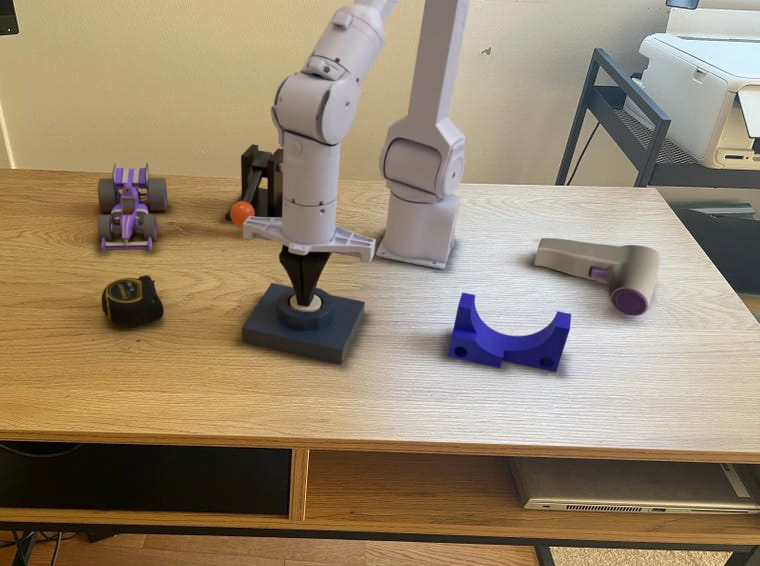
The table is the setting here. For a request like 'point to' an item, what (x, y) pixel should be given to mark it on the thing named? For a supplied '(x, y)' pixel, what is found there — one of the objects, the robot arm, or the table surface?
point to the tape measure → (132, 301)
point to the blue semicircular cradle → (506, 340)
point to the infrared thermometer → (607, 269)
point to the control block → (304, 325)
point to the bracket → (272, 197)
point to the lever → (251, 189)
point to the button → (312, 307)
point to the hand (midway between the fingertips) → (305, 301)
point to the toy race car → (130, 207)
